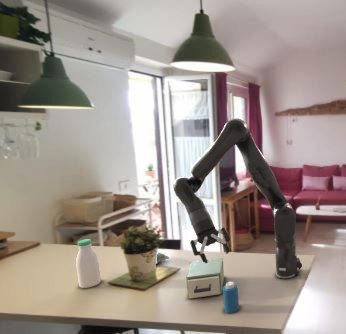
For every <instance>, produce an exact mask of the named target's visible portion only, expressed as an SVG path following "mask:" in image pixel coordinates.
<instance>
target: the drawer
mask: <svg viewBox="0 0 346 334" xmlns="http://www.w3.org/2000/svg"><path fill="white" fill-rule="evenodd" d="M187 282H188V290H187V294H188V293H189V299H197V298H203V296H204V297H210V295H211V296H217V294H218V295H221V294H220V285H219V276H218V275H216V276H208V277H201V278H193V279H191V280H188V281H187V280H186V283H187ZM189 299H188V300H189Z"/></svg>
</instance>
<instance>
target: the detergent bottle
mask: <svg viewBox="0 0 346 334" xmlns="http://www.w3.org/2000/svg"><path fill="white" fill-rule="evenodd" d="M238 288H239V287H238V284H236V283H235V282H234V281H228V282H226V283H225V285H223V289H222V296H223V307H224V312H225V313H226V314H234V313H236V312H238V311H239V310H240V307H239V306H240V303H239V302H240V301H239V289H238Z"/></svg>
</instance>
